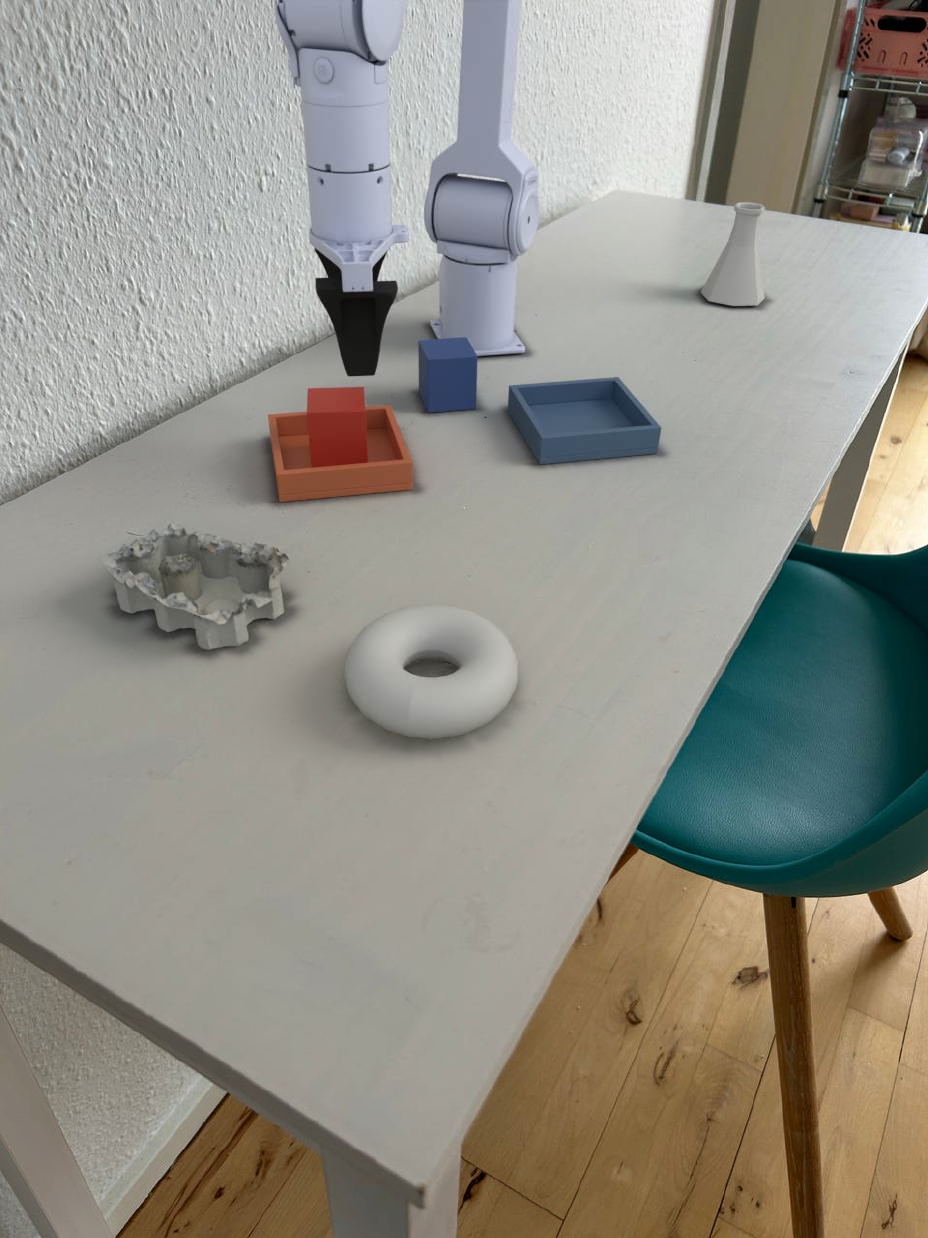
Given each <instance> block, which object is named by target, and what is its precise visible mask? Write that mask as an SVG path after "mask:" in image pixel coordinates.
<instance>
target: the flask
mask: <svg viewBox="0 0 928 1238" xmlns="http://www.w3.org/2000/svg"><path fill="white" fill-rule="evenodd" d="M733 209H734V212H735V216H734V220H733V225H732V228H731V230H730V234H729V236H728V239H727V242H726V244H725V246H724V248H723V250H722V251H721V254H720V255H719V258H718V259H717V261H716V263H715V265H714V266H713V269H712V270H711V272H710V273H709V276H708V278H707V279H706V281H705V283H704V285H703V287H702V288H701V291H700V294H701V295H702V296H703V297H704V298H705V299H706V301H708V302H712V303H716V304H722V305H726V306H730V307H731V306H732V307H746V306H747V307H748V306H759V305H760V304H761V303H762V301H764V299H765V297H766V296H765V288H764V281H763V276H762V275H763V274H762V269H761V260H760V251H759V224H760V220H761V215H763V213H764V212H765V210H766V207H765V206H764V205H762V204H761V203H755V202H749V201H748V202H747V201H746V202H737V203H735V204H734V206H733Z"/></svg>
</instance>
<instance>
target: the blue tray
mask: <svg viewBox="0 0 928 1238" xmlns="http://www.w3.org/2000/svg"><path fill="white" fill-rule="evenodd" d="M507 412H508V413H509V415H510V416H511V418H512V419H513V421H514V423H515V425H516V428H517V429H518V430H519V432H520V434H521V435H522V437H523V439H524V440H525V442H526V444H527V445H528V447H529V449H530V451H531V452H532V454H533V455H534V457H535V459H536V460H537V462H538V464H539V465H548V464H549V465H550V464H559V463H570V462H571V463H572V462H580V461H592V460H602V459H612V458H613V459H614V458H624V457H636V456H645V455H646V456H647V455H657V454H658V452H659V446H660V445H659V444H660V439H661V432H662V426H661V425H660V424H659V422H657V421H656V419H655V418H654V416H652V414H651V413H650V412H649V411H648V410H647V409H646V408H645V407H644V405H643V404H642V403H641V401H639V400H638V399H637V396H635V394H633V392H632V391H631V390H630V389H629V388H628V386H627V385H626V384H625V382H624V381H623V380H622V379H620V377H619V376H615V377H614V376H613V377H599V378H586V379H573V380H561V381H548V382H537V383H535V382H534V383H523V384H522V383H521V384H510V385H508V396H507Z"/></svg>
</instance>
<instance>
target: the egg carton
mask: <svg viewBox="0 0 928 1238" xmlns="http://www.w3.org/2000/svg"><path fill="white" fill-rule="evenodd" d="M96 558H97V560H98V561H99V563H100V564H101V565H102V566H103V567H104V569H106V571H107V572H109V573H110V574H111V575H112V576H113V586H114V590H115V592H116V597H117V602H118V605H119V608H120V610H121V611H123V612H126V613H128V614H136V613H137V612H144V611H147V610H154V614H155V618H156V624H157V626H158V628H159V629H161V631H164V632H167V633H170V632H174V631H176V630H179V629H188V628H190V629H194V630H195V636H196V643H197V645H198V646H199V648H201V649H202V650H206V651H211V650H213V649H214V650H215V649H221V648H224V647H240V646H241V645H243V644H244V643H246V642H248V641H249V639H250V638H249V631H248V625H249V624H250V623H251V622H253V621H254V620H259V619H270V620H276V619H277V618H278V617H280V616H281V615H282V614H284V613H285V609H284V608H285V607H284V599H283V591H282V586H281V579H280V578H281V577H280V574H281V573H282V572H283V571H284V568H285V567H286V566H287V565H288V564H289V563H290V559H289V556H288V555H287V553H286V552H283V551H281V552H280V550H279V548H278V547H274V546H272V547H270V546H268V545H267V544H266V543H263V544H262V543H257V542H254V544H253V546H250V545H248V544H246V543H245V542H244V541H241V540H238V541H236V542H235V541H233V540H228V539H226V538H225V537H223V536H221V535H218V534H212V533H200V532H198V531H193V532H191V533H188V532H187V530H186V528H185V526H183V525H181V524H179V523H178V524H175V523H173V522H171V523H169V524H168V525H167V529H166V530H165V531H163V532H162V533H158V531H156V529H152V530H150V532H149V533H148V534H147V536H146V537H139V538H136V539H135V540H134V541H132V542H131V543H126V544H124V543H123V544H121V546H120V548H119V550H117V551H114V552H110V553H107V554H106V553H105V554H101V555H98V556H97V557H96Z"/></svg>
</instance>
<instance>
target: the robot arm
mask: <svg viewBox="0 0 928 1238" xmlns="http://www.w3.org/2000/svg"><path fill="white" fill-rule="evenodd" d="M408 1H409V0H276V4H274V14H275V21H276V24H277V25H276V26H277V29H278V32H279V35H280V37H281V40H282V42H283V44H284V47H285V48H286V50H287V54H288V59H289V67H290V68H289V69H290V78H293V84H294V85H295V86H296V87H298V88H300V98H301V110H302V124H303V125H302V126H303V136H304V149H305V150H304V151H305V161H306V172H307V185H308V188H307V189H308V199H309V200H308V201H309V211H310V226H311V227H310V229H308V235H309V243H310V245H311V246H312V247H313V248H314V251H315V253H316V255H317V257H318V259H319V261H320V262H321V264H322V266H323V269H324V271H325V273H326V275H327V277H315V279H314V280H315V293H316V295H317V297H318V299H319V301H320V303H321V305H322V306H323V307H324V309H325V311H326V313H327V314H328V317H329V319H330V322H331V324H332V326H333V330H334V333H335V337H336V340H337V345H338V349H339V353H340V358H341V361H342V364H343V369H344V371H345V373H346V376H347V377H350V378H351V377H373V376H375V375H376V372H377V368H378V365H379V358H380V353H381V352H380V351H381V345H382V339H383V332H384V328H385V324H386V320H387V318H388V315H389V312H390V310H391V307H392V305H393V304H394V302H395V300H396V297H397V293H398V291H399V287H398V282H397V280H379V276H380V272H381V269H382V265H383V263H384V261H385V259H386V255H387V253H388V251H389V250H390V249H391V248H392V246H394V245H395V244H403V243H405V244H406V243H408V242H409V241H410V231H409V228H408V226H407V225H405V224H393V212H392V210H393V209H392V206H393V205H392V177H391V175H392V174H391V141H390V139H391V138H390V105H389V104H390V103H389V71H388V69H389V68H388V67H389V66H388V60H390V58H392V56H393V54H394V53H395V52H396V51H397V50H398V48H399V45H400V41H401V39H402V33H403V25H404V18H405V17H404V16H405V12H406V9H407V7H408V6H409V3H408ZM462 5H463V7H462V8H463V10H462V25H461V27H462V28H461V49H460V69H459V93H458V94H459V96H458V111H457V131H456V133H457V134H456V141H454V142H453V143H452V144H451V145H449V146H448V147H447V148H445V149H444V150H443V151H442V152H440V153H439V154H437V156H436V157H435V158H434V159H433V160H432V162H431V165H430V172H429V181H428V187H427V191H426V193H425V198H424V205H423V223H424V227H425V231H426V233H427V234H428V238H429V239H430V241H431V242H432V243H434V244H436V253H437V254H441V255H442V256H441V259H440V262H439V267H438V269H439V272H438V273H439V274H438V275H439V278H438V279H439V281H438V282H439V283H438V285H439V286H438V287H439V289H438V290H439V291H438V292H439V293H438V294H439V295H438V298H439V299H438V315H439V316H438V318H434V319H431V320H429V325H430V327H431V328H432V331H433V333H434V334H435V336H436V339H445V338H460V337H466V338H467V339H468V341H469V343H470V344H471V346H472V348H473V349H474V351H475V353H476V354H477V356H478V357H483V356H485V357H486V356H499V355H511V354H513V355H514V354H523V353H525V352H526V347H525V345H524V344H523V342H522V341H521V339H520V338H519V337H518V335H517V334H516V333H515V315H516V297H517V278H518V277H517V276H518V260H519V256H523V255H524V254H525V253H526V252H527V251H528V250H529V249H530V248H531V246H532V245H533V243H534V240H535V237H536V235H537V231H538V226H539V219H540V199H539V173H538V167H537V166H536V165H535V164H534V163H533V161H532V160H531V159H530V158H529V156H527V155H526V154H525V153H524V151H522V150H521V149H520V148H519V147H518V145H516V144H515V142H514V141H513V140H512V131H513V129H512V128H513V118H514V117H513V115H514V104H515V103H514V102H515V92H516V91H515V90H516V77H517V65H518V52H519V51H518V49H519V36H520V24H521V23H520V22H521V12H522V11H521V10H522V0H463V4H462ZM459 174H460V175H459ZM463 175H467V176H463ZM471 176H474V177H471ZM475 176H476V177H475ZM479 177H485V178H479ZM487 178H492V179H487ZM494 179H495V180H494ZM496 179H497V180H496ZM498 179H499V180H498Z"/></svg>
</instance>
